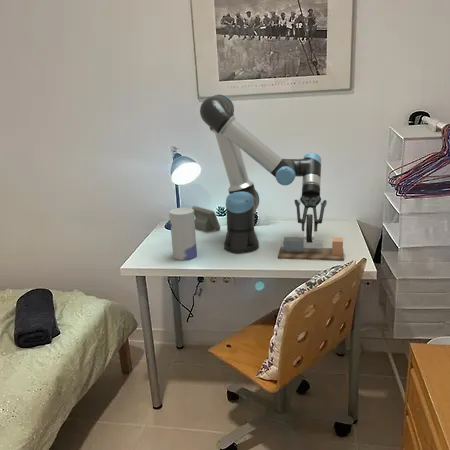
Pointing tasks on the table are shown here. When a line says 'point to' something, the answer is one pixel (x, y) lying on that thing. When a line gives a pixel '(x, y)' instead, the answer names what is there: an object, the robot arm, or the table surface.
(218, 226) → the digital clock
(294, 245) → the outer sleeve
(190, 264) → the table surface
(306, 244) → the sliding bolt
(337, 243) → the socket block
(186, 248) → the container
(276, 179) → the robot arm
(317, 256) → the base board
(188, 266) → the table surface
